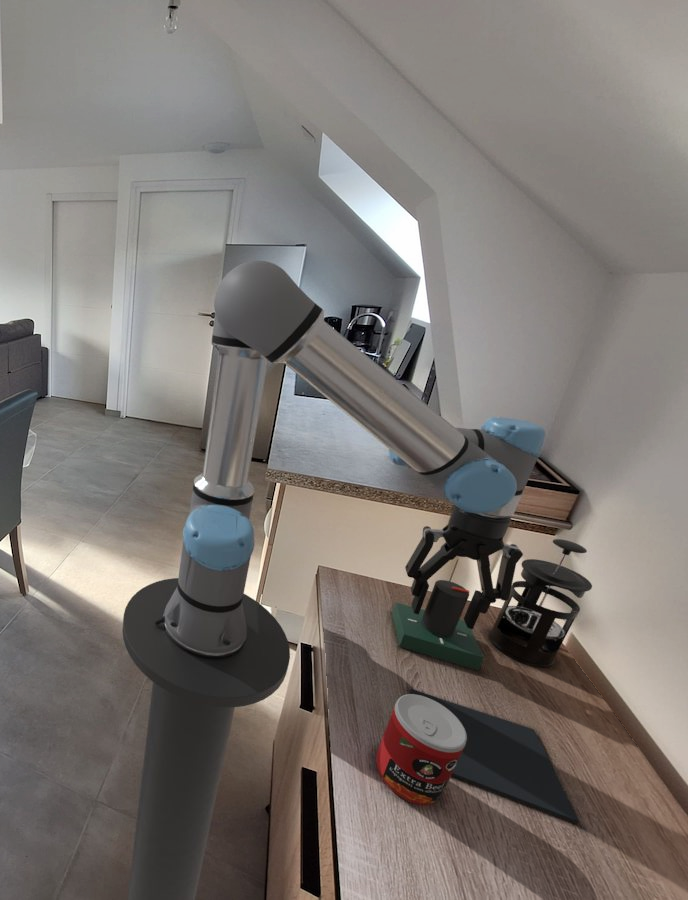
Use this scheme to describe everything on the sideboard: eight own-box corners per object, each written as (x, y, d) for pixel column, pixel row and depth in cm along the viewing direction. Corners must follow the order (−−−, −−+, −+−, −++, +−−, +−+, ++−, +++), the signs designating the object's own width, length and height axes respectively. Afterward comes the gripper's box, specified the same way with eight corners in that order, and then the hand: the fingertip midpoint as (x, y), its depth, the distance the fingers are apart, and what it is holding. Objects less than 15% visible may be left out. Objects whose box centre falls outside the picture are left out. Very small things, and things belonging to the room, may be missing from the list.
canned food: (377, 791, 60) (401, 732, 56) (371, 740, 67) (391, 684, 63) (447, 819, 57) (476, 760, 53) (432, 763, 64) (458, 706, 60)
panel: (399, 646, 85) (404, 633, 84) (391, 613, 93) (395, 601, 92) (478, 670, 80) (484, 656, 79) (462, 633, 89) (468, 620, 87)
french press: (561, 679, 79) (622, 568, 71) (492, 655, 84) (542, 549, 75) (543, 637, 88) (595, 536, 80) (482, 618, 93) (525, 520, 85)
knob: (423, 631, 84) (439, 590, 81) (418, 615, 89) (433, 575, 85) (456, 640, 83) (473, 599, 79) (449, 623, 87) (465, 583, 83)
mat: (427, 767, 64) (428, 764, 63) (409, 691, 75) (410, 688, 75) (577, 824, 57) (579, 821, 57) (532, 732, 69) (534, 729, 69)
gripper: (416, 504, 77) (380, 611, 85) (573, 534, 69) (517, 649, 78) (408, 487, 84) (376, 588, 92) (551, 513, 76) (502, 622, 84)
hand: (441, 616), depth 85 cm, fingers open, 8 cm apart
